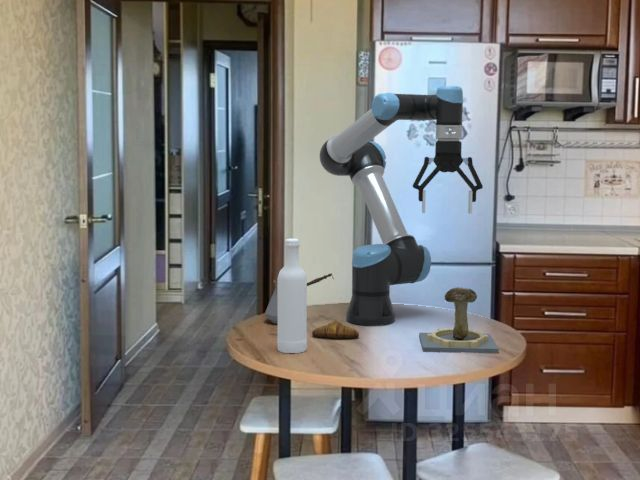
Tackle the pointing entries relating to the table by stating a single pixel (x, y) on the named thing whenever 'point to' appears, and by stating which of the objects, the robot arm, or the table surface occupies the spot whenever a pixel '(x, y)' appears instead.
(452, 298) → the mushroom
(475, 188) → the robot arm
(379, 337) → the table surface
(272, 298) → the coffee pot
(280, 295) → the bottle
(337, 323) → the croissant
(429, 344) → the gear board
